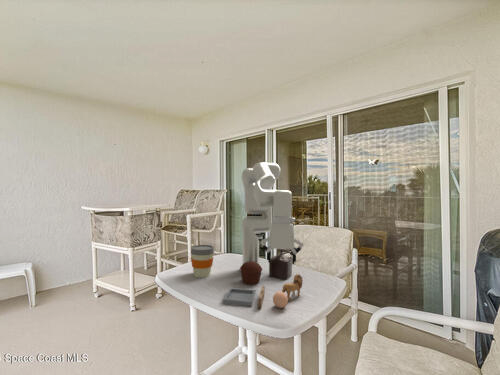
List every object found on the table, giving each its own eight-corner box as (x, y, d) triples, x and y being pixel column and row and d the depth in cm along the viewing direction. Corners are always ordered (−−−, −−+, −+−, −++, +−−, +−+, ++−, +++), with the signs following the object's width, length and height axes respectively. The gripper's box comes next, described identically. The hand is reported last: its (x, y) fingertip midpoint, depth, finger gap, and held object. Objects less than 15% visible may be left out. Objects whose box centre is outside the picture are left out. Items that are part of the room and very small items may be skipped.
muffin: (235, 282, 122) (235, 263, 122) (245, 276, 132) (246, 257, 132) (256, 287, 117) (256, 267, 117) (265, 280, 126) (266, 261, 127)
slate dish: (230, 291, 112) (230, 287, 112) (255, 293, 110) (255, 289, 110) (223, 303, 100) (223, 299, 100) (251, 306, 98) (251, 301, 98)
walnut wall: (261, 294, 109) (262, 286, 109) (264, 295, 109) (264, 286, 109) (258, 308, 96) (258, 298, 96) (261, 309, 96) (261, 299, 96)
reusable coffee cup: (211, 279, 126) (211, 250, 127) (187, 278, 127) (188, 249, 127) (215, 271, 139) (215, 245, 139) (193, 270, 139) (194, 244, 139)
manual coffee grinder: (267, 276, 132) (268, 243, 132) (275, 270, 142) (275, 240, 142) (295, 282, 125) (296, 247, 125) (301, 275, 135) (301, 243, 135)
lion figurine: (295, 290, 114) (295, 271, 114) (305, 294, 111) (305, 274, 111) (276, 300, 103) (277, 279, 104) (287, 305, 100) (287, 283, 100)
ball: (273, 302, 102) (273, 288, 102) (287, 304, 101) (288, 289, 101) (272, 309, 96) (272, 294, 96) (287, 311, 95) (287, 296, 95)
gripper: (303, 220, 101) (302, 261, 100) (262, 218, 103) (261, 258, 103) (304, 222, 93) (303, 267, 93) (259, 220, 96) (259, 263, 96)
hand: (281, 262), depth 98 cm, fingers open, 9 cm apart
